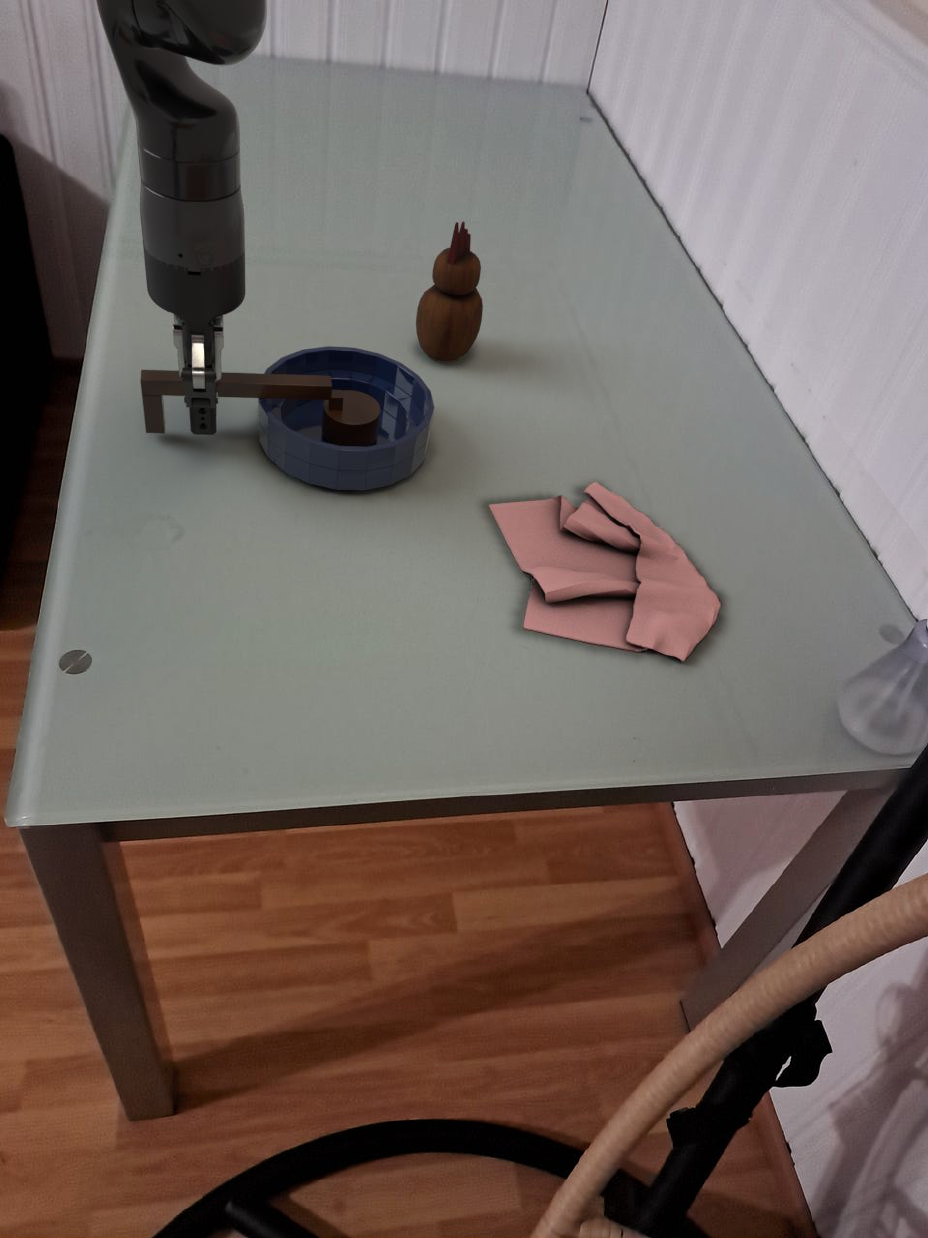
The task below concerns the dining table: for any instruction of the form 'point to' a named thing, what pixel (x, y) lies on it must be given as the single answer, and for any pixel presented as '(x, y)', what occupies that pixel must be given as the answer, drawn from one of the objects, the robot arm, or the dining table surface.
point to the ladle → (343, 411)
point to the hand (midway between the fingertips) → (203, 424)
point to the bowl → (312, 458)
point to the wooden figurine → (451, 302)
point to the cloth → (607, 575)
